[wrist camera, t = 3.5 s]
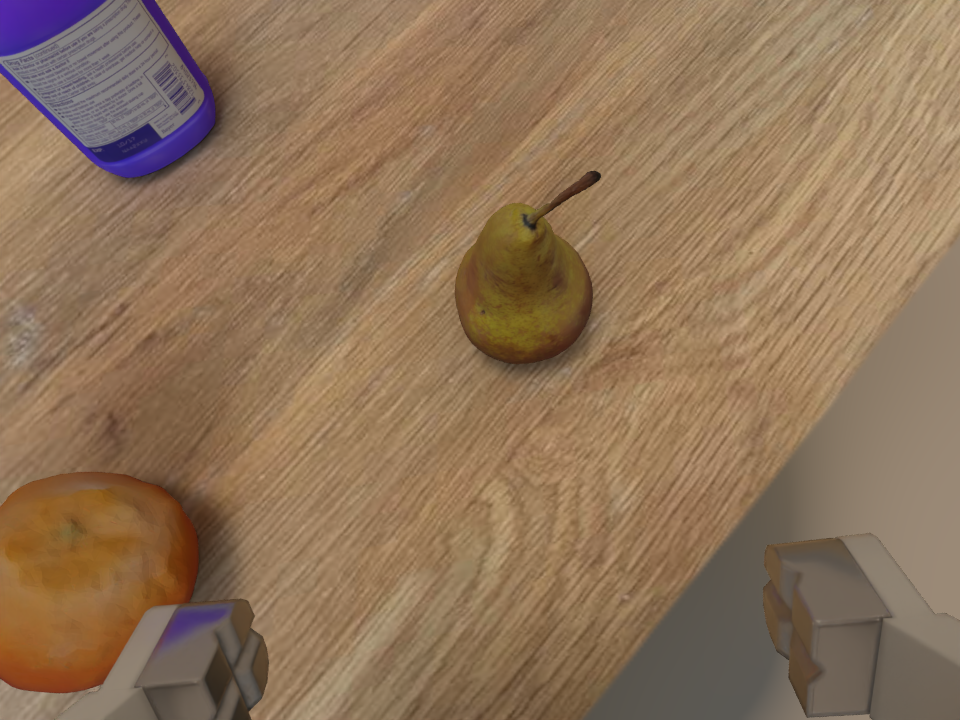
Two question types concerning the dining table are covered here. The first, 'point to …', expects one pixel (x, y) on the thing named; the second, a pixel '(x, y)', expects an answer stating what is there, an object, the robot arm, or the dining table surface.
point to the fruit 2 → (524, 285)
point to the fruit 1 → (85, 574)
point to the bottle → (108, 79)
